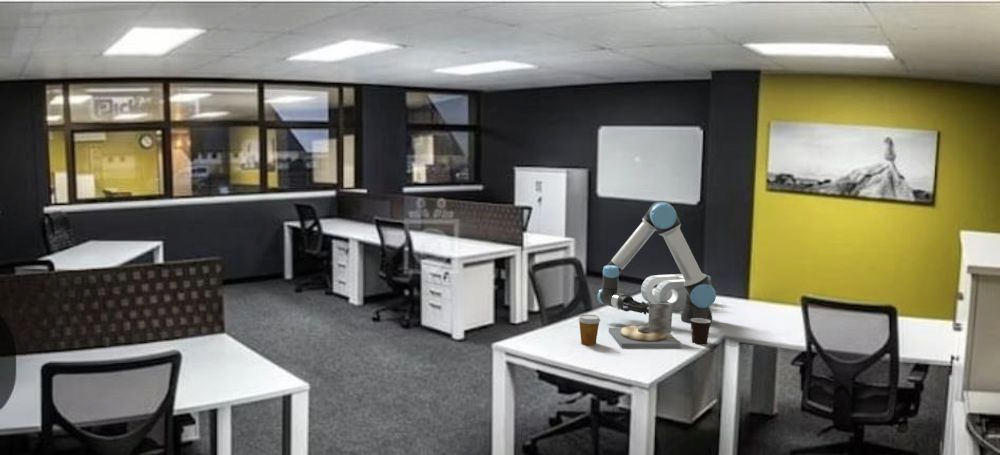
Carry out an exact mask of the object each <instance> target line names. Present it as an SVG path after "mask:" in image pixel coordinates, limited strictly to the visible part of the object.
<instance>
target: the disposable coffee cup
mask: <svg viewBox="0 0 1000 455" xmlns="http://www.w3.org/2000/svg"><path fill="white" fill-rule="evenodd" d="M600 323H601V319H600V316H599V315H597V314H589V313H585V314H581V315H579V317H578V324H579V332H580V334H579V335H580V343H581V344H582V345H584V346H595V345H596V344H597V338H598V331H599V325H600Z"/></svg>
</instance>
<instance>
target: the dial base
mask: <svg viewBox="0 0 1000 455" xmlns="http://www.w3.org/2000/svg"><path fill="white" fill-rule="evenodd" d="M622 328H623V327H608V333H609V335H610V336H611V337H612V338H613V339H614V341H615V342H616V343H617V345H618V346H619V347H620V348H621V349H678V348H679V349H681V348H682V342H680V341H679V340H678V339H676V338H677V337H675V336H673V335H672V333H667V335H666V338H665V339H662V340H657V341H641V340H634V339H630V338H626V337H624V336H622V335H621V329H622Z"/></svg>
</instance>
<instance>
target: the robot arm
mask: <svg viewBox="0 0 1000 455" xmlns="http://www.w3.org/2000/svg"><path fill="white" fill-rule="evenodd" d="M647 210H648V211H647V212H646V213H645V215H644V216H643V217H642V218H641V220H642V222H641V223H640V224H639V225H638V226H637V228H636V229H635V230H634V231H633V232H632V234H631V235H630V236H629V237H628V239H627V240H626V241H625V243H624V244H623V245H622V246H621V247H620V248H619V250H618V251H617V252H616V253H615V254H614V256H613V257H612V259H610V261H609V262H608V263H607V265H604V266H603V269H602V288H601V289H599V290H598V292H597V296H596V297H597V301H598V302H599V303H601V304H602V305H605V306H608V307H612V308H615V309H617V310H618V311H623V312H630V311H631V312H634V313H638V314H639V313H640V314H643V315H649V303H648V302H645V301H641V302H639V301H638V300H635V299H634V298H633V297H632V296H631V295H629V294H625V293H621V292H619V290H618V289H619V277H620V274H621V273H622V271H623V270H624V269H625V268H626V266H627V265H628V264H629V263H630V262H631V261H632V260H633V258H634V257H635V255H636V254H637V253H638V252H639V251H640V249H641V248H642V247H643V246H644V245H645V244H646V242H647V241H648V240H649V239H650V238H651V236H652V235H653V234H654V232H656V233H657V234H658V235H659V236H662V237H663V240H664V241H665V243H666V245H667V247H668V249H669V251H670V253H671V255H672V257H673V259H674V261H675V263H676V265H677V268H678V269H679V272H680V274H682V275H683V277H684V279H685V282H684V287H685V289H686V300H685V306H684V309H682V312H681V314H680V320H681V321H682V322H685V323H689V324H691V319H693V318H703V319H708V320H710V321H711V323H712V322H713V315H712V311H711V307H710V306H712V305H713V304H714V303H715V300H716V297H717V292H716V290H715V288H714V287H713V285H712V283H711V282H712V279H711V278H712V277H711V276H710V275H707V274H706V273H703V272H702V271H701V269H700V267H699V265H698V262H697V261H696V259H695V257H694V255H693V253H692V250H691V248H690V246H689V244H688V243H687V240H686V238H685V237H684V234H683V232H682V230H681V225H682V224H681V220H680V219H679V217H678V214H677V211H676V210H675V208H674V206H672V205H671V204H670V203H669V202H667V201H664V200H658V201H655V202H654V203H652V204H651V205H650V207H649V208H648V209H647ZM711 323H710V324H711Z"/></svg>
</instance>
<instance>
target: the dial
mask: <svg viewBox="0 0 1000 455" xmlns="http://www.w3.org/2000/svg"><path fill="white" fill-rule="evenodd" d="M648 304H649V314H648V320H647V321H648V324H647V325H629V326H624V327H621V328H622V329H621V335H622V336H624V337H626V338H630V339H634V340H641V341H657V340H662V339H665V338H666V335H667V333H670V334H672V325H673V324H672V322H673V310H672V303H650V302H648Z"/></svg>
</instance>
